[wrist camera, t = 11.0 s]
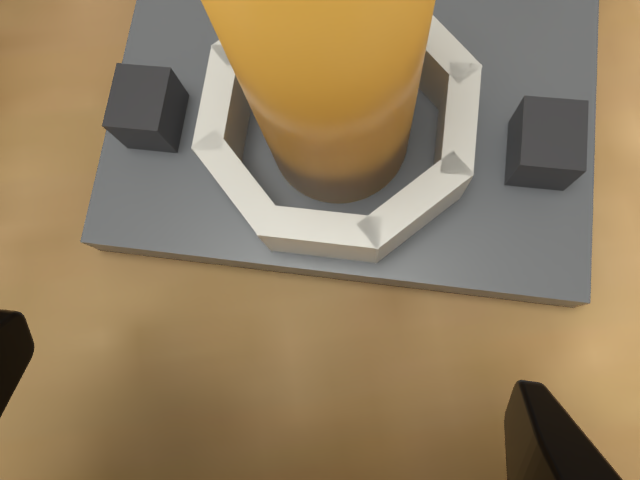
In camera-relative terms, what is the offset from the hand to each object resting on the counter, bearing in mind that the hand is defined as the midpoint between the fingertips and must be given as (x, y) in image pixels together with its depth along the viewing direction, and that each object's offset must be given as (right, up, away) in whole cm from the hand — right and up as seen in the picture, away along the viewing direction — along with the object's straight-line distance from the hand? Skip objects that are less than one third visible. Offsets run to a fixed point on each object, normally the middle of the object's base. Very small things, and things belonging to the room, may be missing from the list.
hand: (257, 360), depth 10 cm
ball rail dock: (+2, +8, +12) cm, 15 cm away
